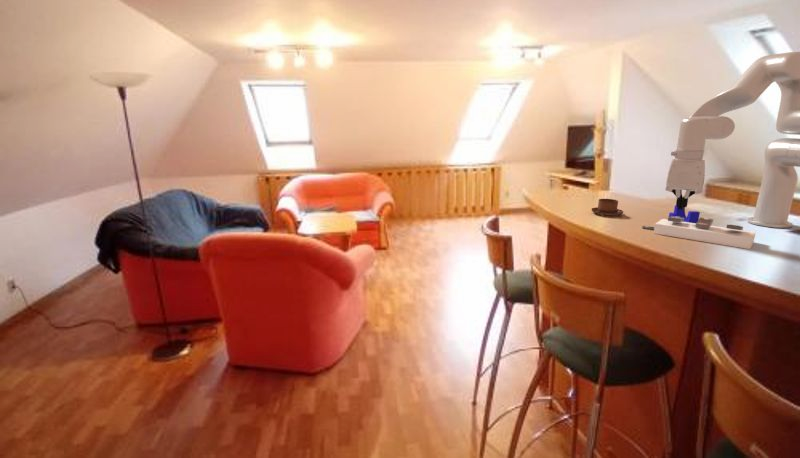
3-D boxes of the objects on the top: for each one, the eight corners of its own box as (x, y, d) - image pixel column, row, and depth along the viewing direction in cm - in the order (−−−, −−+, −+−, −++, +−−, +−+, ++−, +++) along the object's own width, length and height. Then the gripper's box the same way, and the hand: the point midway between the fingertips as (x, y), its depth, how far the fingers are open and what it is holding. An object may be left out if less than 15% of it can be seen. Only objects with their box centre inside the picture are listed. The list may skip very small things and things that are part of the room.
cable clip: (668, 220, 161) (670, 205, 160) (680, 220, 161) (683, 205, 159) (683, 227, 150) (686, 211, 148) (696, 228, 149) (699, 212, 148)
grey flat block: (671, 219, 144) (672, 215, 144) (683, 221, 142) (684, 217, 141) (667, 220, 140) (668, 217, 140) (680, 222, 137) (680, 218, 137)
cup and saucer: (594, 210, 179) (595, 196, 177) (624, 213, 172) (626, 199, 170) (588, 215, 169) (589, 201, 168) (620, 219, 163) (622, 204, 161)
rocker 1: (699, 220, 138) (700, 217, 138) (712, 222, 136) (713, 218, 135) (695, 227, 135) (695, 223, 134) (708, 229, 132) (709, 225, 132)
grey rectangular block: (728, 228, 133) (729, 224, 133) (742, 230, 131) (743, 226, 130) (726, 228, 129) (727, 224, 129) (740, 230, 126) (741, 226, 126)
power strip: (645, 225, 152) (647, 216, 151) (753, 242, 131) (755, 231, 130) (637, 230, 145) (639, 221, 144) (749, 249, 124) (752, 238, 123)
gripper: (660, 155, 139) (653, 208, 144) (714, 157, 129) (705, 213, 134) (666, 153, 144) (659, 204, 149) (718, 155, 134) (709, 209, 139)
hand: (680, 208), depth 141 cm, fingers closed
